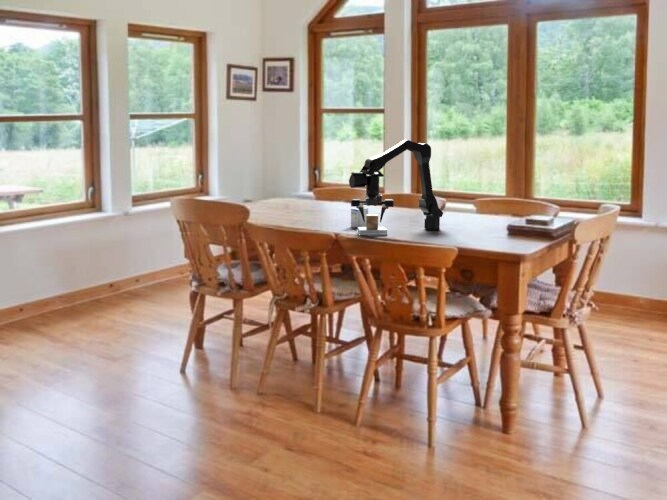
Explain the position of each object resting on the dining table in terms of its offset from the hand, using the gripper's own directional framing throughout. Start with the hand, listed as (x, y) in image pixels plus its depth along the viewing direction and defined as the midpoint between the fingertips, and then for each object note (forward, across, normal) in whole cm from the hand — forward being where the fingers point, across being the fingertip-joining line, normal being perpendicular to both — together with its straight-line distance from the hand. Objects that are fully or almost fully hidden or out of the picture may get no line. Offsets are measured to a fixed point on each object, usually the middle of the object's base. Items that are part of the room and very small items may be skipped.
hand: (372, 222), depth 339 cm
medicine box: (+6, -7, +21) cm, 23 cm away
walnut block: (+3, 0, 0) cm, 3 cm away
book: (+6, 0, 0) cm, 6 cm away
